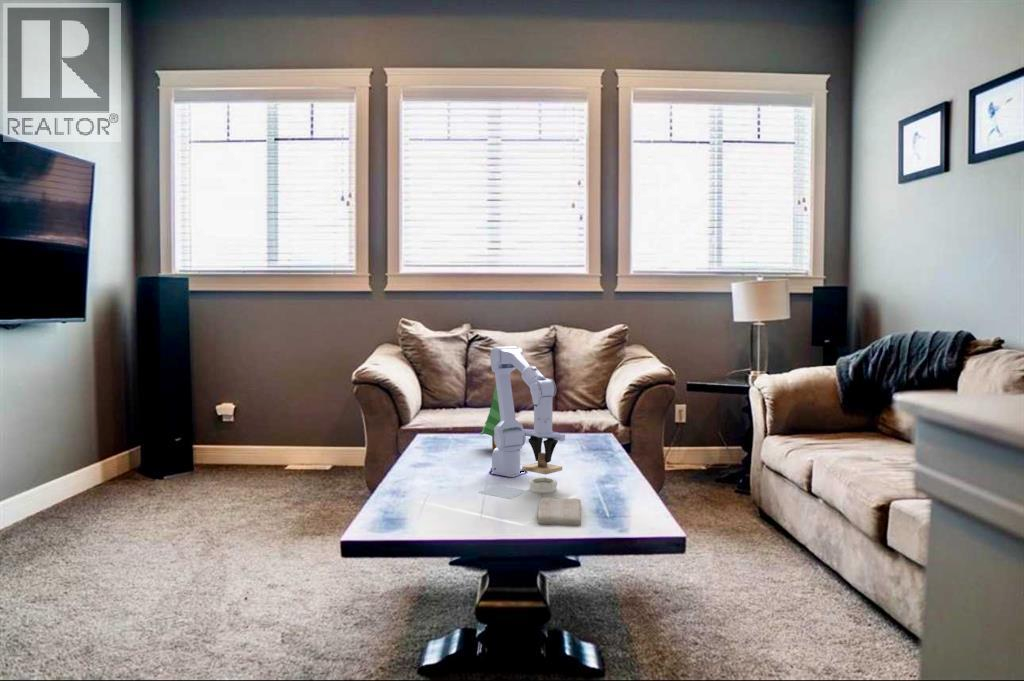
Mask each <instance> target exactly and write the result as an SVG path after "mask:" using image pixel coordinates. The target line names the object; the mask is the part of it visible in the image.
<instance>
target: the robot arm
mask: <svg viewBox="0 0 1024 681" xmlns="http://www.w3.org/2000/svg"><path fill="white" fill-rule="evenodd" d="M523 352H524V351H523V349H522V348H521V347H520V346H519V345H514V346H512V345H511V346H509V345H508V346H507V345H506V346H493V347H492V348H491V351H490V354H489V361H490V367H491V371H492V372H493V373H494V377H495V386H497V394H498V402H499V410H500V418H501V421H500V422H499V423H498V424H497V425H496V427H495V428H494V443H495V445H496V447H497V448H495V449H494V450H492V455H491V474H494V475H499V476H503V477H509V478H515V477H517V476H520V475H524V474H526V471H524V472H521V473H520V471H521V450H522V449H523V447H524V446H525V443H526V440H527V437H530V438H528V443H529V445H530V446H531V448H532V452H533V454H534V458H535V461H536V462H538V453H542V446H544V453H545V461H546V463H547V464H549V463H550V462H551V461H552V456H553V452H554V450H555V448H556V446H557V444H558V442H564V441H566V434H565V433H561V432H557V431H553V398H554V397H555V396H556V394H557V386H556V383H555V380H553V379H552V378H546V377H545V376H544V375H543V374H542V373H541V372H540V370H539V369H538V368H537V367H536V366H535V365H533V366H532V365H530V364H529V363H528V361H527V360H526V358H525V357H524V353H523ZM516 369H517V370H518V371H519V372H520V373H521V379H522V380H523V382H524V383H525V384H526V385H527V386H528V387H529V390H530V395H531V398H532V399H531V400H532V404H533V429H529V428H525V429H524V426H523V424H522V423H521V422H520V421H518V419H516V413H515V412H516V411H515V404H514V397H513V388H512V382H511V374H512V372H513V371H515V370H516ZM507 428H513V429H511V430H504V429H507ZM544 439H546V440H544Z"/></svg>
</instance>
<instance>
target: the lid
mask: <svg viewBox="0 0 1024 681" xmlns="http://www.w3.org/2000/svg"><path fill="white" fill-rule="evenodd" d="M521 467H522V468H521V471H524V472H530V473H536V474H539V475H540V474H541V475H550V474H553V473H557V472H561V471H563V466H561V465H558V464H557V465H556V464H550V463H546V461H545V452H541V453H538V461H537V462H534V463H529V464H526V465H522V466H521Z"/></svg>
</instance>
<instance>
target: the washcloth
mask: <svg viewBox="0 0 1024 681" xmlns="http://www.w3.org/2000/svg"><path fill="white" fill-rule="evenodd" d="M581 504H582V502H581V499H580V498H577V497H576V498H574V497H573V498H561V497H553V496H552V497H542V498H541V499H540V501H539V503H538V513H537V516H538V518H537V524H541V525H562V526H580V525H581V524H582V521H581V518H582V517H581V514H582V513H581V509H582V508H581V506H582V505H581Z"/></svg>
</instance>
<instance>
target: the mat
mask: <svg viewBox="0 0 1024 681" xmlns="http://www.w3.org/2000/svg"><path fill="white" fill-rule="evenodd" d="M528 491H529V490H527V489H522V488H517V487H511V486H505V485H502V484H501V485H500V484H494V485H492V486H490V487H488V488H485V489H483V490H481V491H478V494H482V495H488V496H492V497H499V498H503V499H508V500H512V499H514V498H517V497H519V496H521V495H522V494H525V493H527V492H528Z"/></svg>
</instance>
